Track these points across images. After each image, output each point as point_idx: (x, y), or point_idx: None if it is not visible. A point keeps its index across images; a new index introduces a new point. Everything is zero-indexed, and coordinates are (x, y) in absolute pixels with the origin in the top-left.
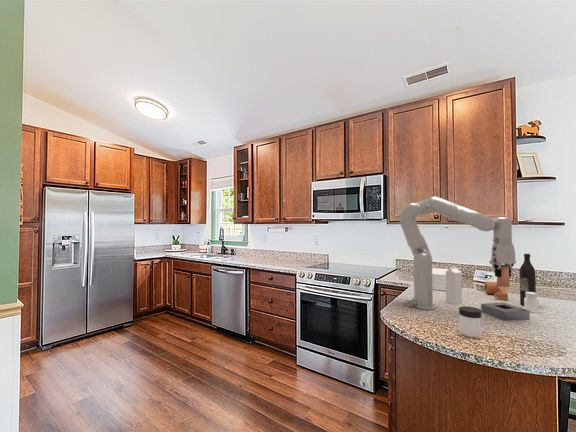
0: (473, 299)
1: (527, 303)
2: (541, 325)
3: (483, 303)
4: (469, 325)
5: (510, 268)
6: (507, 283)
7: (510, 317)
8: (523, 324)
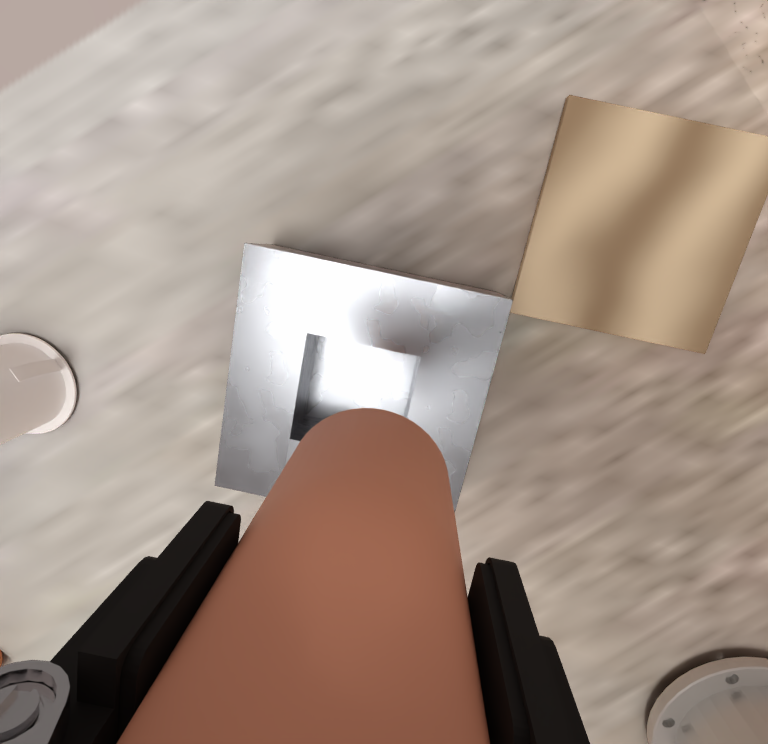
0: None
1: (17, 406)
2: (301, 137)
3: None
4: None
5: (64, 689)
6: (378, 431)
7: (447, 283)
8: (411, 205)
